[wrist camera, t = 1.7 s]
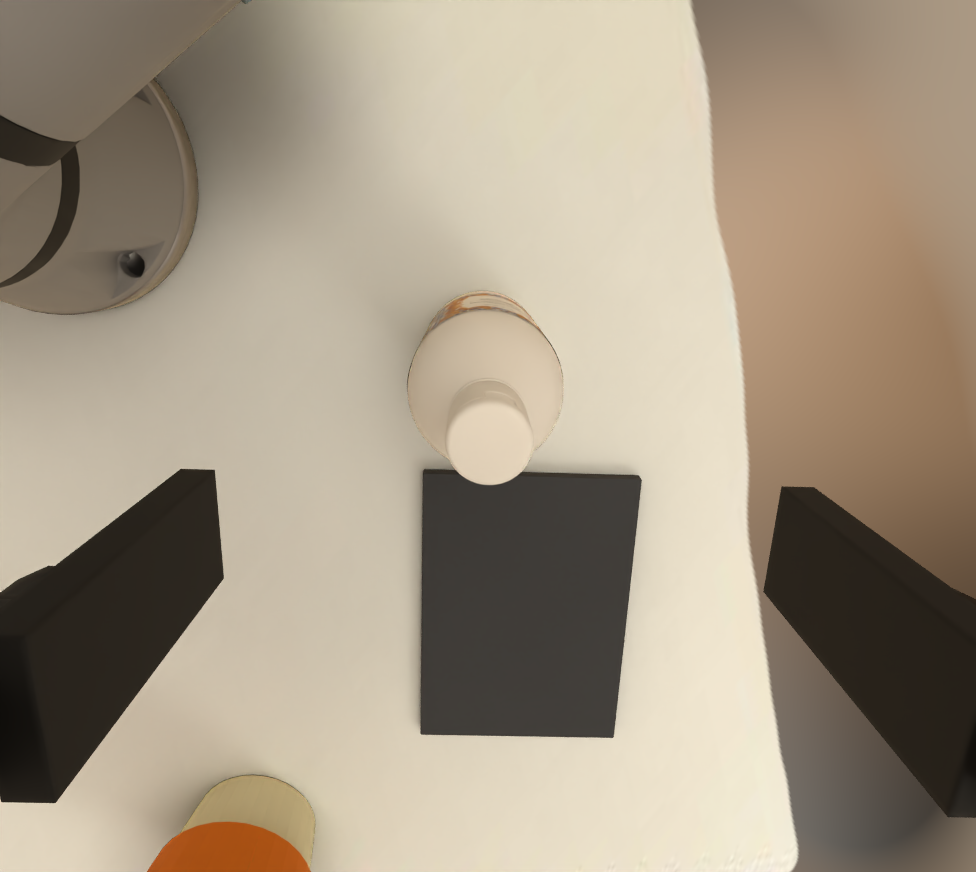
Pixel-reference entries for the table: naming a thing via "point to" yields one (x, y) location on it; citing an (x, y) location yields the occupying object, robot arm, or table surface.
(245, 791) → the reusable coffee cup
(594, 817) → the table surface
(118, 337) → the table surface
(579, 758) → the table surface
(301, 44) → the table surface
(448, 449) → the bath foam
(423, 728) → the desk mat
